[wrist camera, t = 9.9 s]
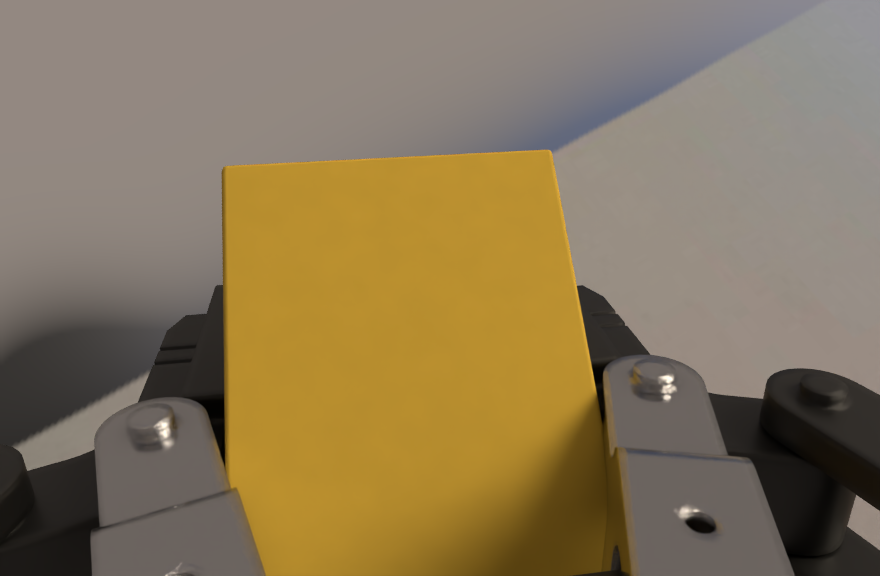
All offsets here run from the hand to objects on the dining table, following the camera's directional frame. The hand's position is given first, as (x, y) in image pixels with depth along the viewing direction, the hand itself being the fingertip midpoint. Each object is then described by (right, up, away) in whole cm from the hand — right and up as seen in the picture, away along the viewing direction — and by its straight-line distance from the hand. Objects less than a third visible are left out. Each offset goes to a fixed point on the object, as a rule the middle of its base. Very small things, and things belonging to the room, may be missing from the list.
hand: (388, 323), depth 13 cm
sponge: (0, -4, +4) cm, 5 cm away
